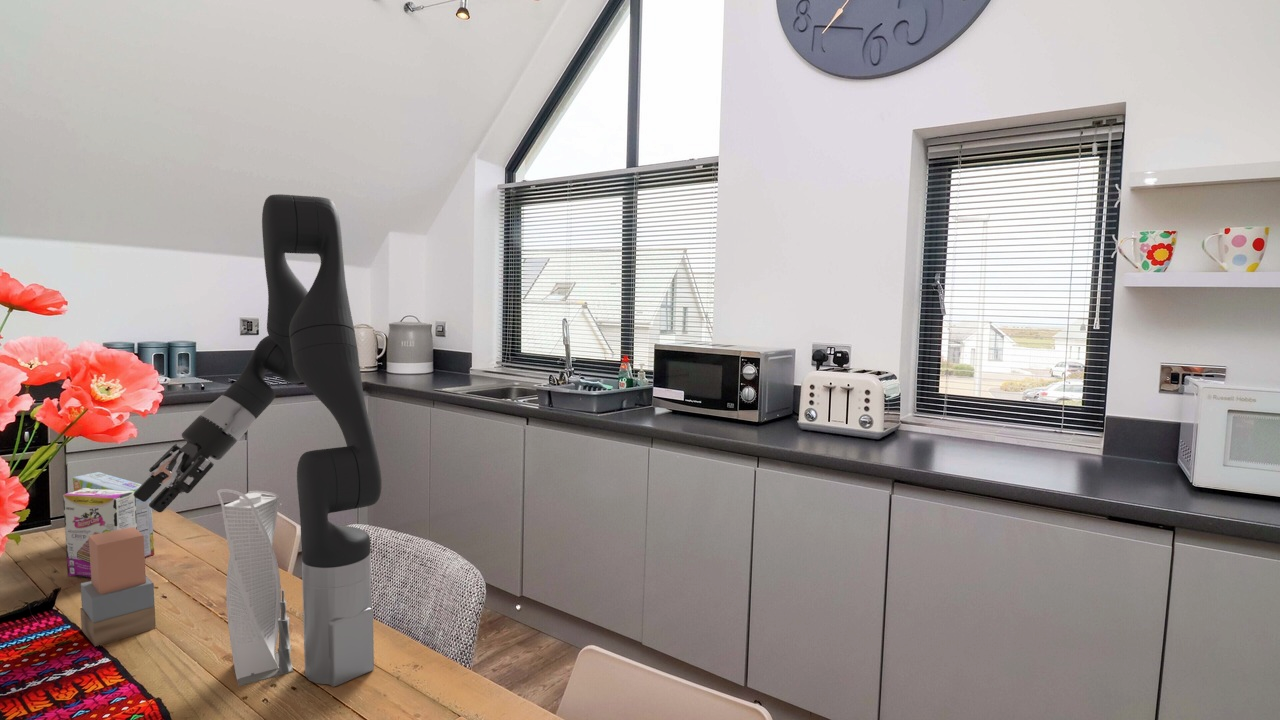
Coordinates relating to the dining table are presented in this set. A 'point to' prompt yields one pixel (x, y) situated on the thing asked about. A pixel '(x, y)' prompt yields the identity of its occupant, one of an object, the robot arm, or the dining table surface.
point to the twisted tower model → (255, 589)
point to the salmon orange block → (117, 559)
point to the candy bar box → (93, 522)
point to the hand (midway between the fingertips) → (146, 504)
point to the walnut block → (117, 626)
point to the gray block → (116, 600)
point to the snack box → (116, 483)
